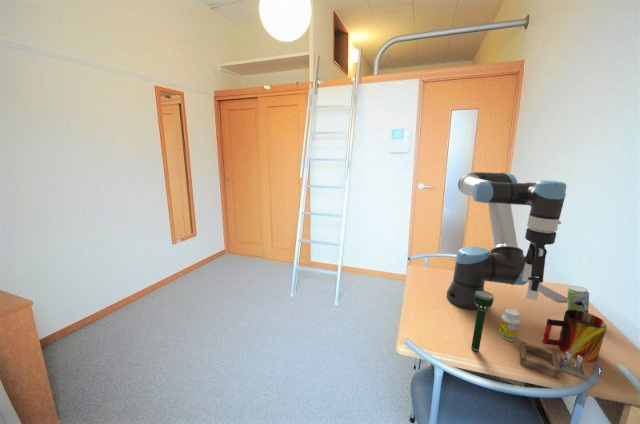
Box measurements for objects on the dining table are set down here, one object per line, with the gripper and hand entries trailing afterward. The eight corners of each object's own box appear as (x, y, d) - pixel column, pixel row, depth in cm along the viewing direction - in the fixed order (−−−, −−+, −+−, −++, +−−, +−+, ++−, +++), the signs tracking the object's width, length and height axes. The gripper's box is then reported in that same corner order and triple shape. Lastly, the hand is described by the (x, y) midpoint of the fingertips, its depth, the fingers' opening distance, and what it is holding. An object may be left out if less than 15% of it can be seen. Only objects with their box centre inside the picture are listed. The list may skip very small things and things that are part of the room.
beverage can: (591, 322, 105) (599, 293, 102) (569, 319, 106) (576, 291, 104) (579, 312, 111) (586, 285, 108) (558, 310, 112) (565, 283, 110)
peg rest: (561, 370, 81) (564, 356, 80) (559, 360, 85) (562, 346, 84) (584, 378, 79) (588, 363, 77) (580, 367, 83) (584, 353, 81)
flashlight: (487, 354, 87) (497, 297, 83) (474, 356, 86) (483, 299, 82) (475, 343, 92) (484, 289, 88) (462, 345, 91) (471, 290, 87)
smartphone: (540, 283, 134) (571, 299, 119) (540, 285, 134) (571, 301, 119) (526, 284, 133) (556, 300, 118) (526, 286, 133) (556, 302, 118)
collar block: (520, 364, 83) (521, 357, 83) (519, 347, 91) (521, 341, 90) (558, 378, 78) (560, 371, 78) (555, 359, 86) (556, 352, 85)
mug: (540, 345, 92) (547, 313, 89) (571, 338, 95) (579, 308, 93) (572, 367, 83) (581, 332, 80) (605, 359, 86) (615, 325, 83)
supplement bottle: (518, 343, 93) (523, 318, 90) (500, 339, 95) (504, 314, 92) (514, 333, 98) (519, 309, 95) (496, 329, 99) (501, 306, 97)
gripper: (565, 242, 76) (549, 311, 81) (549, 222, 96) (537, 277, 101) (531, 237, 79) (518, 303, 84) (523, 219, 100) (513, 273, 105)
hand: (528, 289), depth 93 cm, fingers open, 13 cm apart
